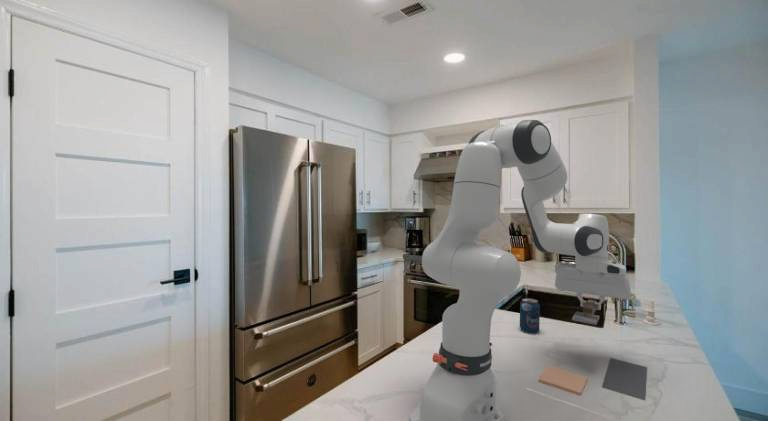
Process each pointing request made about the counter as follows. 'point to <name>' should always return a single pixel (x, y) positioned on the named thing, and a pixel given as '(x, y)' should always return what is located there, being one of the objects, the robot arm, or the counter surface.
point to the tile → (563, 380)
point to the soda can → (529, 315)
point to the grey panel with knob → (587, 314)
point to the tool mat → (626, 378)
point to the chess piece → (651, 314)
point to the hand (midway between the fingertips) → (590, 308)
